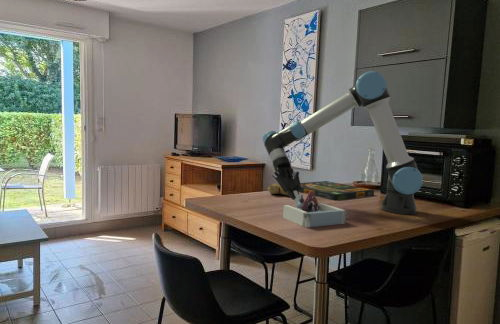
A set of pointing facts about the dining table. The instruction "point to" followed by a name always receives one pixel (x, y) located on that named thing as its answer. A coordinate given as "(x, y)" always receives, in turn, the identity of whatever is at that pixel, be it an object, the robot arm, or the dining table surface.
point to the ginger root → (276, 189)
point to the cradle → (315, 216)
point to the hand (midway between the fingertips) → (299, 205)
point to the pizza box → (334, 190)
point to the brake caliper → (308, 203)
